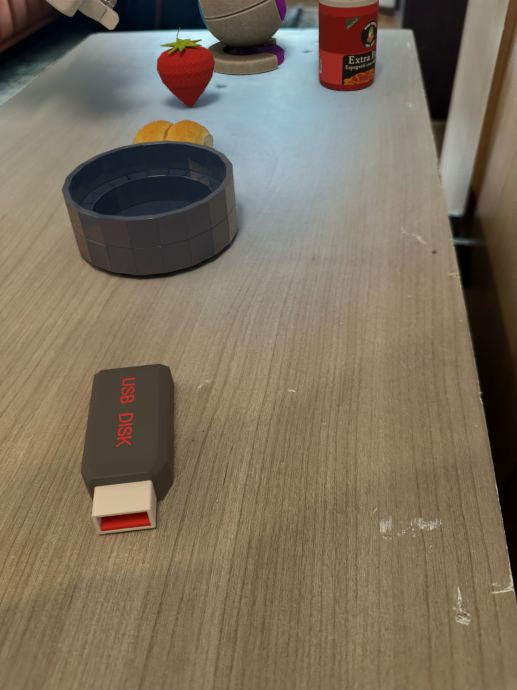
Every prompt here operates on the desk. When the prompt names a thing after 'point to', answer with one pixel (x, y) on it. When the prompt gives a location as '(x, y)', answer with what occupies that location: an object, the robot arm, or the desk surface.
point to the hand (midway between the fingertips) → (115, 13)
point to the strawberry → (186, 69)
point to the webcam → (244, 34)
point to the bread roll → (174, 132)
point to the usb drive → (129, 446)
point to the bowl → (152, 206)
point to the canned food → (347, 43)
